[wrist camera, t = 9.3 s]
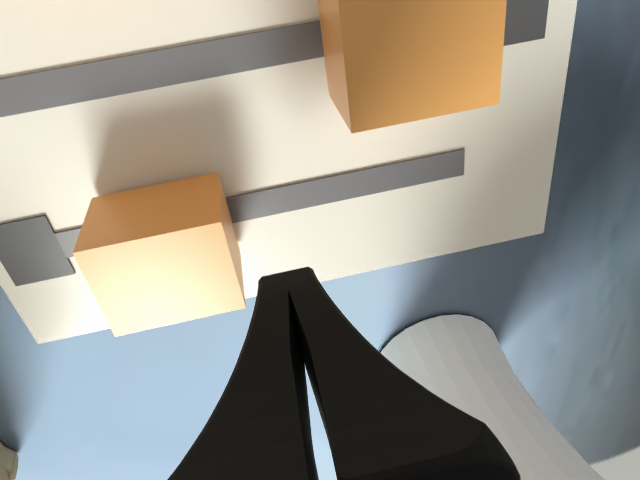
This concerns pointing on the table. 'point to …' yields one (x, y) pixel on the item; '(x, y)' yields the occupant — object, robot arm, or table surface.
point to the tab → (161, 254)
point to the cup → (486, 392)
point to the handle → (8, 463)
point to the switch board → (252, 142)
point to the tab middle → (411, 58)
